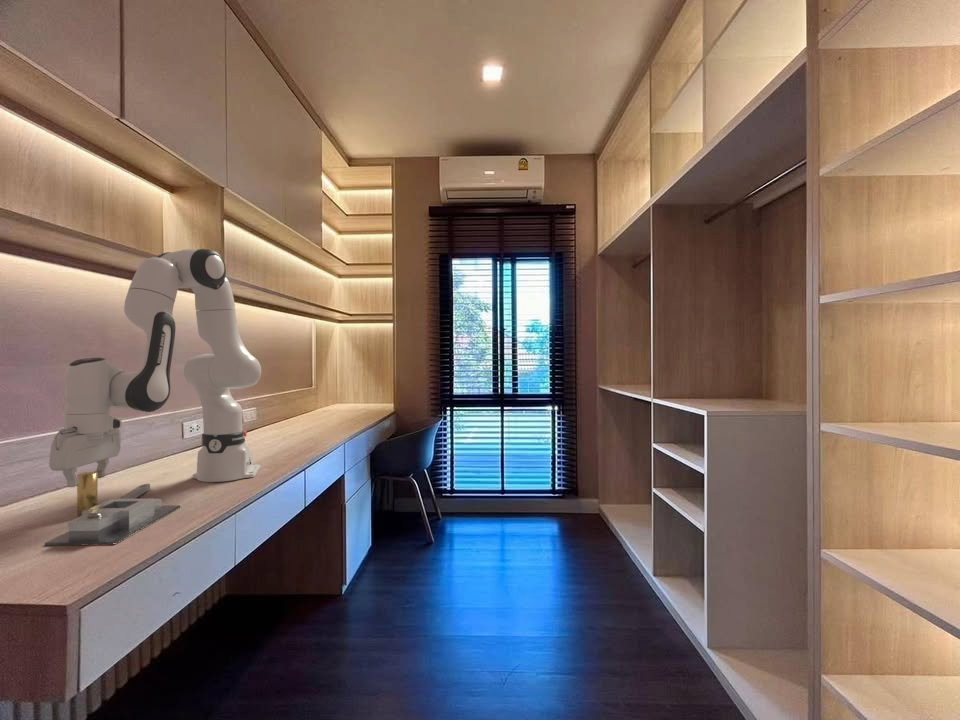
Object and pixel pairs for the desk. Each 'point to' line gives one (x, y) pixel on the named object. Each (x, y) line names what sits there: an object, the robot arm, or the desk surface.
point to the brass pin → (86, 491)
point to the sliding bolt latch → (112, 521)
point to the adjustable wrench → (136, 492)
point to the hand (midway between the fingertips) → (86, 482)
